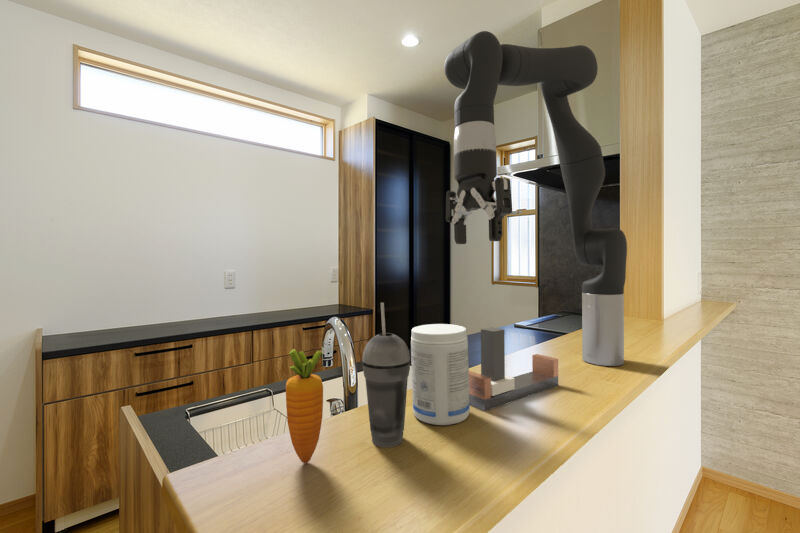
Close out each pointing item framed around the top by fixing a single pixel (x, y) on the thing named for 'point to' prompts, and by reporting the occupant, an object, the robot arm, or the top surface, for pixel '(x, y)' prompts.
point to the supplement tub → (440, 373)
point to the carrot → (304, 405)
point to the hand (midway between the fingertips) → (477, 242)
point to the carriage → (495, 360)
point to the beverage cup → (386, 385)
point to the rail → (525, 384)
